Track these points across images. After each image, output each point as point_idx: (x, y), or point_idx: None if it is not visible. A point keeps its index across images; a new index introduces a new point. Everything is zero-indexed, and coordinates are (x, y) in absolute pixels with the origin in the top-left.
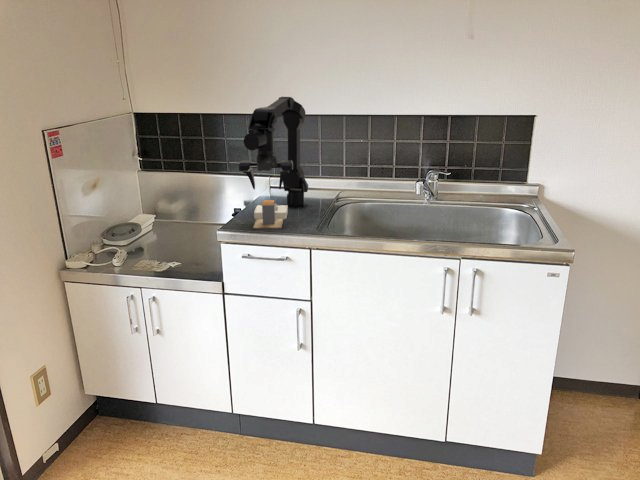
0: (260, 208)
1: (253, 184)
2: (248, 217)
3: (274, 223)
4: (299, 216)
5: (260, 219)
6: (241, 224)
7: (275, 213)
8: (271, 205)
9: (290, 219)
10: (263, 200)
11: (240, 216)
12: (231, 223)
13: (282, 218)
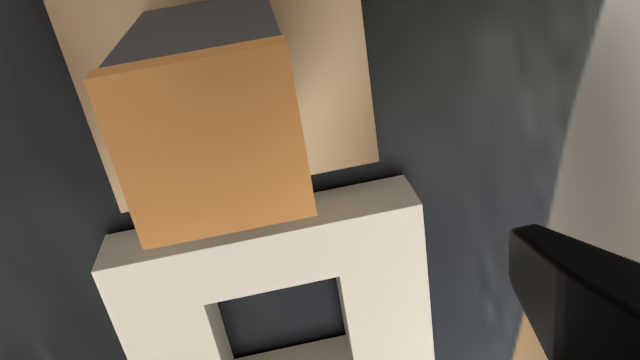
0: (387, 331)
1: (601, 275)
2: (465, 219)
3: None
4: (21, 331)
5: (337, 150)
6: (495, 9)
7: (203, 244)
8: (127, 65)
9: (66, 241)
10: (306, 200)
11: None
12: (594, 25)
13: None
